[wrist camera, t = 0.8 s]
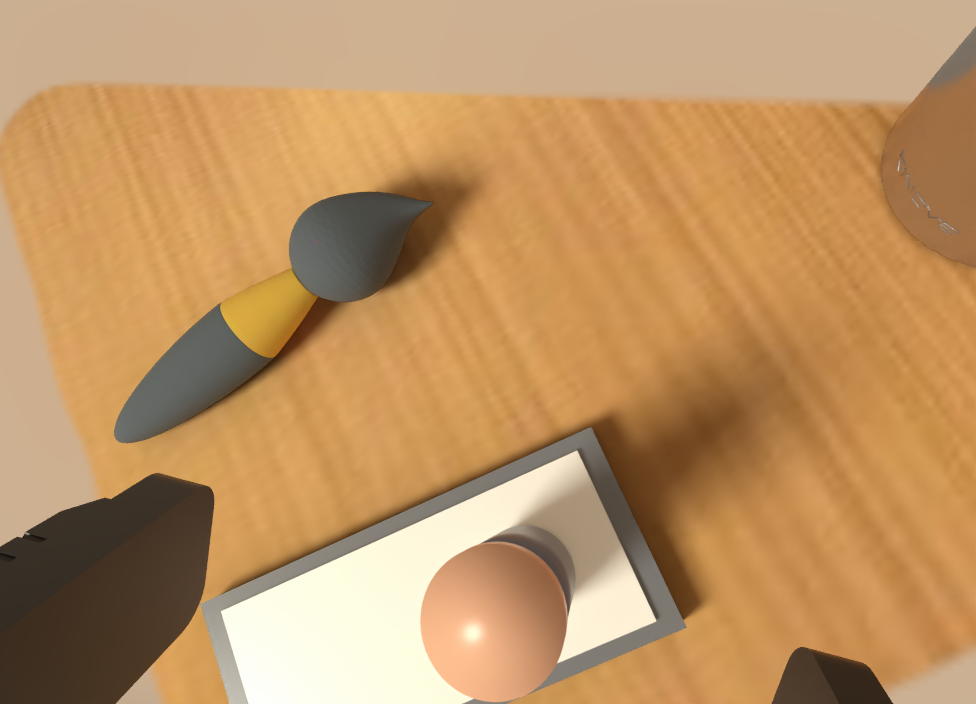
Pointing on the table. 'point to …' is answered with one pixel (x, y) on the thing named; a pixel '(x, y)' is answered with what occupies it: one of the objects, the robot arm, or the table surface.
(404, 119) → the table surface
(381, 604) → the whiteboard
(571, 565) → the peach capped blue cylinder
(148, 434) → the paintbrush
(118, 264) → the table surface
